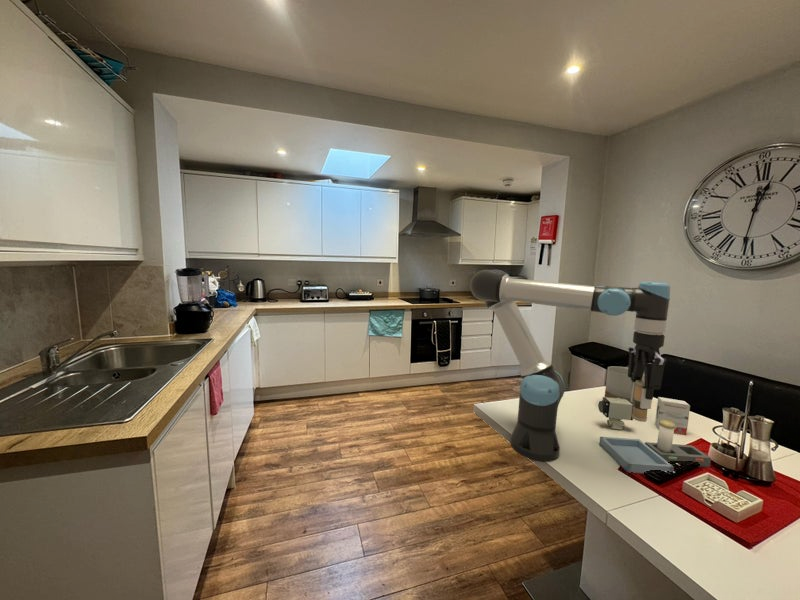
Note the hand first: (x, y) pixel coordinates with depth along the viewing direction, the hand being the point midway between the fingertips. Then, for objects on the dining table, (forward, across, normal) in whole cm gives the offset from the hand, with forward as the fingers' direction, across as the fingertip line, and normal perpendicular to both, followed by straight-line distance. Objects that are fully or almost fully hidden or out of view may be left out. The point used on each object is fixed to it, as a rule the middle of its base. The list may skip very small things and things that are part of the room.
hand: (640, 404), depth 99 cm
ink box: (+19, +22, -27) cm, 40 cm away
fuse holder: (+18, +2, -14) cm, 23 cm away
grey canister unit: (+18, +37, -18) cm, 45 cm away
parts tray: (+18, 0, 0) cm, 18 cm away
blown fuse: (+5, 0, 0) cm, 5 cm away
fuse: (+18, +2, -10) cm, 21 cm away
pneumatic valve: (+18, +21, -6) cm, 29 cm away
